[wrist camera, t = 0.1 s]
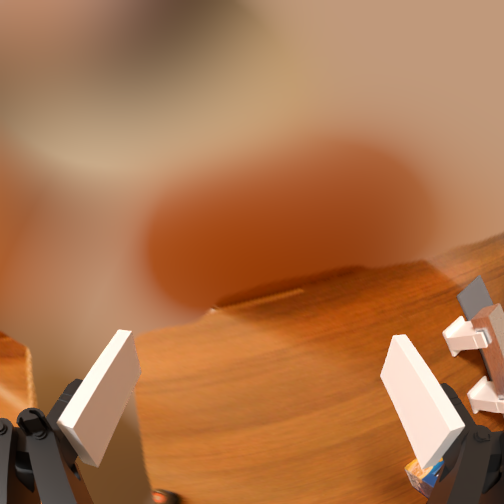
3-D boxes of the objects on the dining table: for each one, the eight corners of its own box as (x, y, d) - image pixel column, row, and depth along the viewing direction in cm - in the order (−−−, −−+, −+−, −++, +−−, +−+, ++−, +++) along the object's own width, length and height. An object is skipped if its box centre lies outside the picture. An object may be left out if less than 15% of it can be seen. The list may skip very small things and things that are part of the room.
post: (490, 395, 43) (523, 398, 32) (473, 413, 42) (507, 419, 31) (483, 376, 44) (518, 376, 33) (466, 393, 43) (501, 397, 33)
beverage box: (452, 454, 39) (518, 480, 18) (412, 487, 38) (470, 528, 17) (445, 434, 41) (516, 457, 20) (403, 467, 40) (465, 508, 19)
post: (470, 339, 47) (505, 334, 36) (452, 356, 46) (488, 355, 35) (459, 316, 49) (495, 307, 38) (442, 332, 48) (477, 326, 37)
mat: (517, 379, 43) (518, 379, 42) (497, 403, 42) (498, 404, 41) (478, 275, 51) (480, 274, 51) (456, 296, 50) (458, 295, 49)
